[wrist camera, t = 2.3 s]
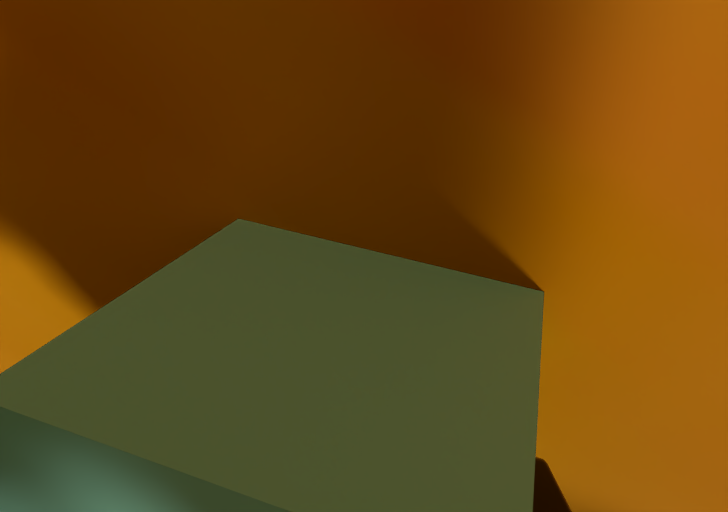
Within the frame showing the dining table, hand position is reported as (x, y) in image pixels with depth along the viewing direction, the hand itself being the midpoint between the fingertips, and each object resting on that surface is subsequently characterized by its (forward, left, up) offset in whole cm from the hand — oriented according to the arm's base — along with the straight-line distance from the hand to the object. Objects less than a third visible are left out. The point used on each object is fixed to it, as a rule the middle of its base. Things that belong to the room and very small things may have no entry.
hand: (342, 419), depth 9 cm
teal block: (0, 0, -1) cm, 1 cm away
